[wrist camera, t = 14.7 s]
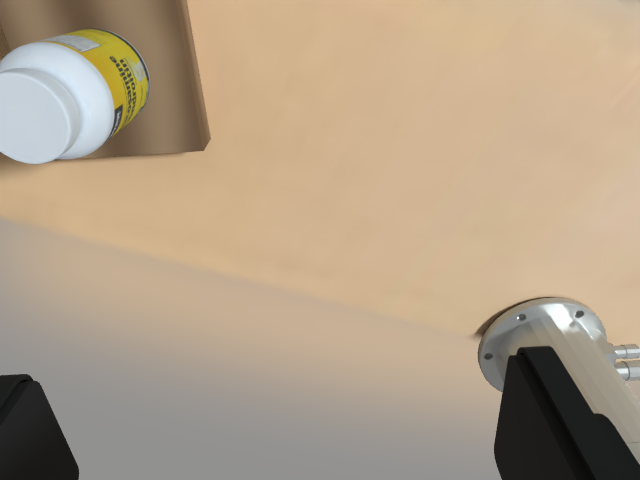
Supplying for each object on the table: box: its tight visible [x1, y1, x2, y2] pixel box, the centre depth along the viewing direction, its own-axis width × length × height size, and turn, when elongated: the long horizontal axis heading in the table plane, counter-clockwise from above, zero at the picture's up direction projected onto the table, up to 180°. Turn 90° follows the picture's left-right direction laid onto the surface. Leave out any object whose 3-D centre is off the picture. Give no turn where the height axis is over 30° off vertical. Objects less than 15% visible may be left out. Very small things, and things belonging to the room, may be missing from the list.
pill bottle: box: [0, 29, 150, 164], centre depth 30 cm, size 6×6×12 cm
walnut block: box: [0, 0, 211, 161], centre depth 36 cm, size 12×12×3 cm
